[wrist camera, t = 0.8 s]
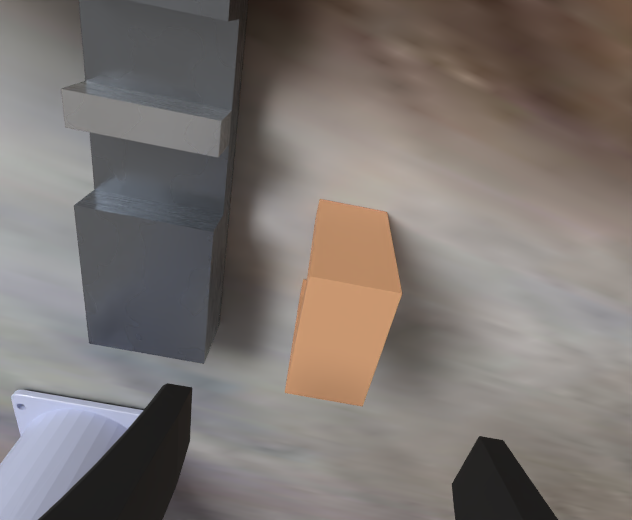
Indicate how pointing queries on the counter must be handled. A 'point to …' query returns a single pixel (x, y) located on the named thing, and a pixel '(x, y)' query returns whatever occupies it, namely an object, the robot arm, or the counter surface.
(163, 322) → the rail
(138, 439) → the robot arm
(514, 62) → the counter surface
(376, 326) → the clip
